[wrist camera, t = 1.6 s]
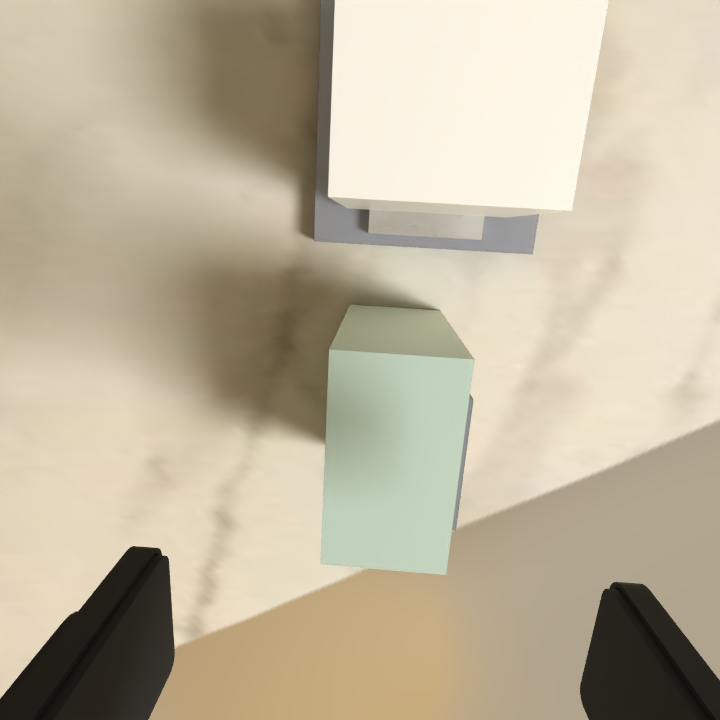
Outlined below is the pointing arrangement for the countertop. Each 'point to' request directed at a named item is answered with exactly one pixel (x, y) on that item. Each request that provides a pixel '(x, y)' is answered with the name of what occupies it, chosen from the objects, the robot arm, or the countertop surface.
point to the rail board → (451, 119)
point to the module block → (394, 439)
